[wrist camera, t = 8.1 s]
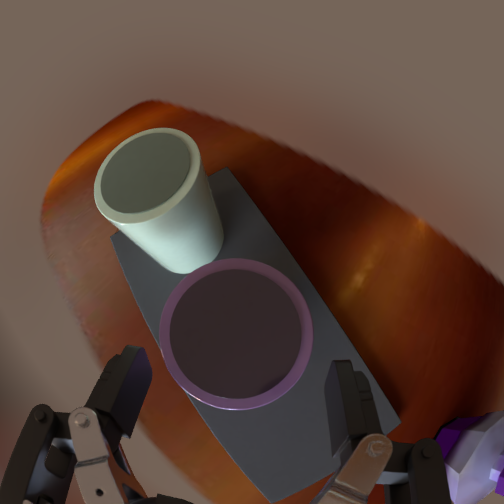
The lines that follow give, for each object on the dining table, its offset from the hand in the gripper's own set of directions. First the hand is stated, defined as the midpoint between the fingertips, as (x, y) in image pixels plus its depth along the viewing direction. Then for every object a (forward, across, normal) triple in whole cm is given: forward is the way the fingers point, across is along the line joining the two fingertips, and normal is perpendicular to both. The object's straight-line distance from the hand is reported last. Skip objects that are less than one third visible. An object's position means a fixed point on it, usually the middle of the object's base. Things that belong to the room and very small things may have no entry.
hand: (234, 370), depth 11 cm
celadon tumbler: (+12, +5, -1) cm, 13 cm away
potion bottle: (-1, -19, +13) cm, 23 cm away
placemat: (+7, 0, +5) cm, 8 cm away
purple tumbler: (+6, 0, +4) cm, 8 cm away
